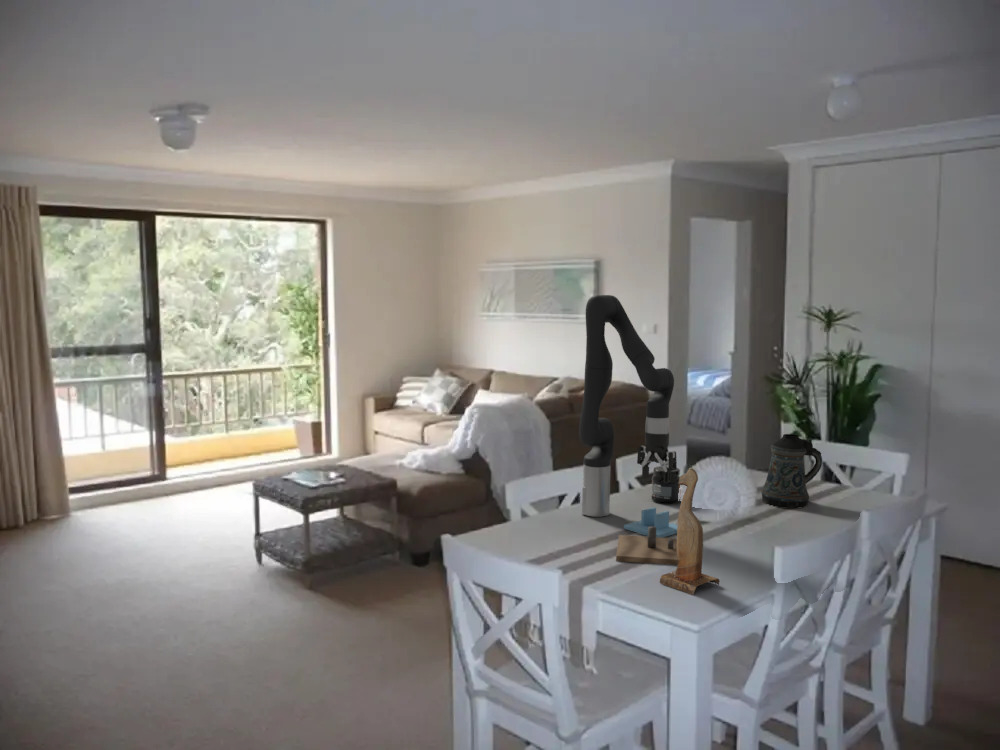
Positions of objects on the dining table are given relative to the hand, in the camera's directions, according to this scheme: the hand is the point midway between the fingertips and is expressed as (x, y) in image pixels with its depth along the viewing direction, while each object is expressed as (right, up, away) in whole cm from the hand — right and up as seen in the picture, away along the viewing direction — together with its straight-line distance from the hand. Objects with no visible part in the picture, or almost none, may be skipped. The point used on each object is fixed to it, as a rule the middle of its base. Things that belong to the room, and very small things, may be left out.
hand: (656, 480), depth 266 cm
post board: (-5, -19, -20) cm, 28 cm away
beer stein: (+55, -13, +36) cm, 67 cm away
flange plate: (0, -16, +2) cm, 16 cm away
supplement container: (+11, -12, +37) cm, 41 cm away
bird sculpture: (0, -22, -47) cm, 51 cm away
